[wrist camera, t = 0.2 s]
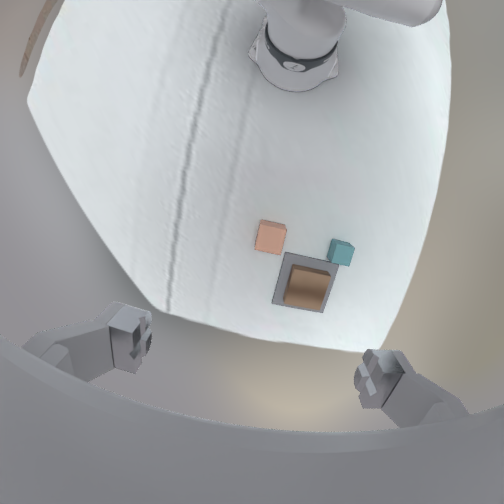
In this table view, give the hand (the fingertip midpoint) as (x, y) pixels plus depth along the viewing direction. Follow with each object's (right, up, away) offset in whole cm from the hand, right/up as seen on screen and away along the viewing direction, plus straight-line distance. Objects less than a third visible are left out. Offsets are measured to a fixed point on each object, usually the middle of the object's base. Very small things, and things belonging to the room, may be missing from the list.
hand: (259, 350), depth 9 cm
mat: (+11, -3, +50) cm, 51 cm away
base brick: (+11, -4, +49) cm, 50 cm away
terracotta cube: (+3, +7, +47) cm, 48 cm away
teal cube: (+18, +4, +47) cm, 51 cm away
